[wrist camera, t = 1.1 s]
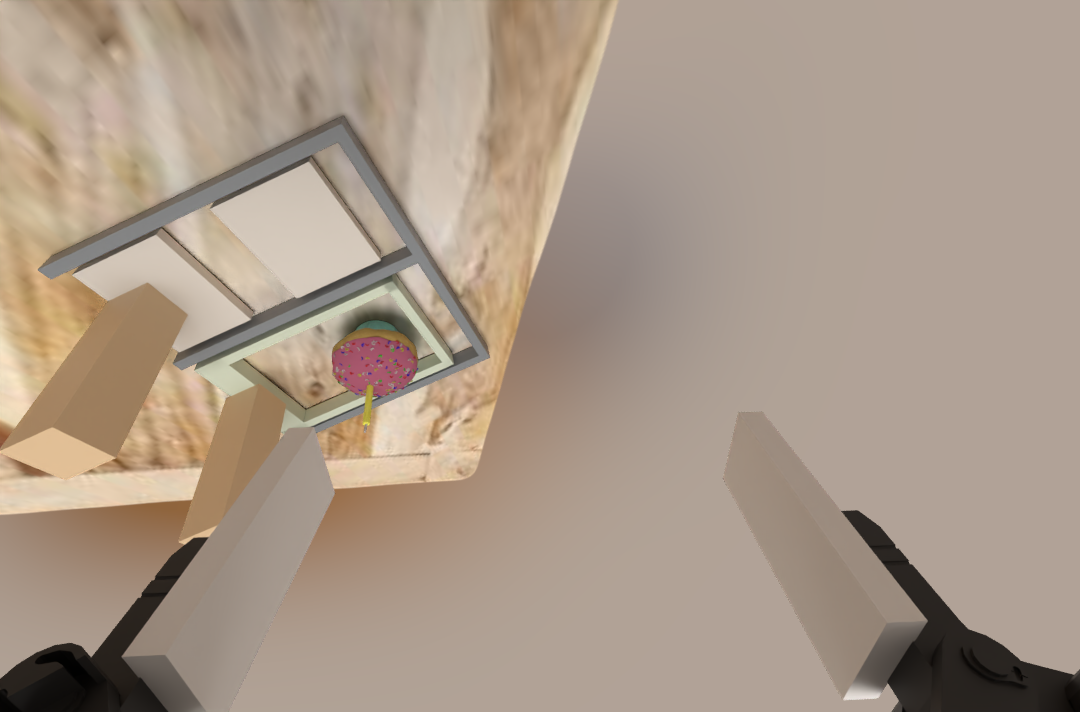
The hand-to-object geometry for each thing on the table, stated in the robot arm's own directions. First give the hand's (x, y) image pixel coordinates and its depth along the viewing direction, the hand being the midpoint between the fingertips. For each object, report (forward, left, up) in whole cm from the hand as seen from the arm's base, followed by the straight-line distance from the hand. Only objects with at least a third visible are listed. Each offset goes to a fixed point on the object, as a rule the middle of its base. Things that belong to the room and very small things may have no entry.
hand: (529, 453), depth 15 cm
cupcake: (-10, -21, -33) cm, 41 cm away
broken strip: (-19, -10, -33) cm, 39 cm away
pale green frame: (-15, -23, -33) cm, 43 cm away
